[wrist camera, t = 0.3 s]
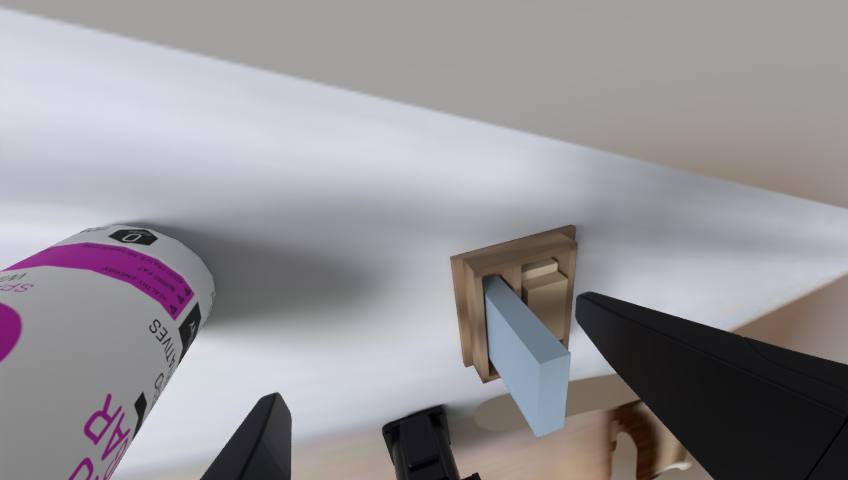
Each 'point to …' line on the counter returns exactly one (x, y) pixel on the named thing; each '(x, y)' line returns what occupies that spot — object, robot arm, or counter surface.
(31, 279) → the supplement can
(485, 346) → the rack
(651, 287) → the counter surface
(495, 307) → the board
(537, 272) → the offcut lower
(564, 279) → the offcut upper
